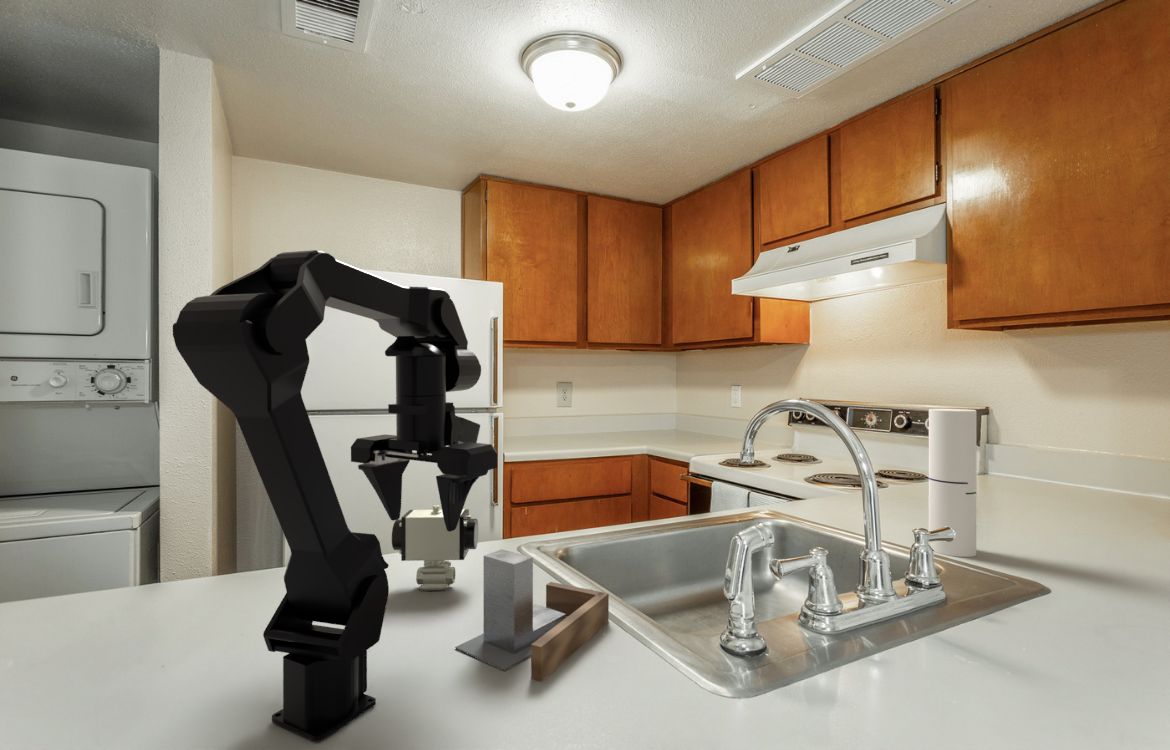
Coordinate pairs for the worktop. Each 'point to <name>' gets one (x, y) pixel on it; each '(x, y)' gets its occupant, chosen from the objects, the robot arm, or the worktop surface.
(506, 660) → the mat
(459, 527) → the pneumatic valve
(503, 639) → the bracket
